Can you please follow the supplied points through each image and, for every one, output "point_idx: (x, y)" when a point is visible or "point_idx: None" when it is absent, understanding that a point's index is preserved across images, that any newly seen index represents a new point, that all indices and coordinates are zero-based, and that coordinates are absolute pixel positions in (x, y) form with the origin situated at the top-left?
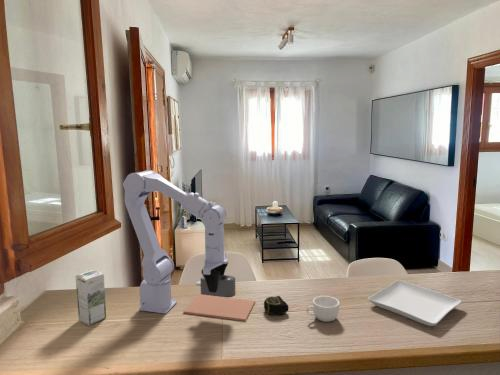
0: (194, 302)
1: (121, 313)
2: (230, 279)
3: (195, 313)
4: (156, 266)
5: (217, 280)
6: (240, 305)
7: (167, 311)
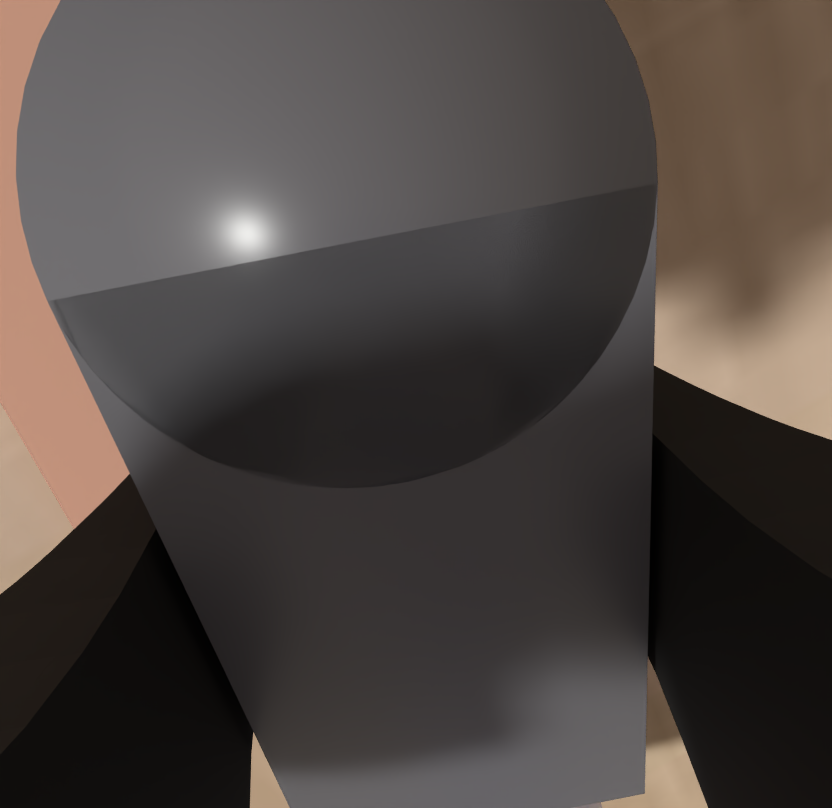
0: None
1: (642, 805)
2: (399, 85)
3: None
4: None
5: (735, 453)
6: (8, 4)
7: None
